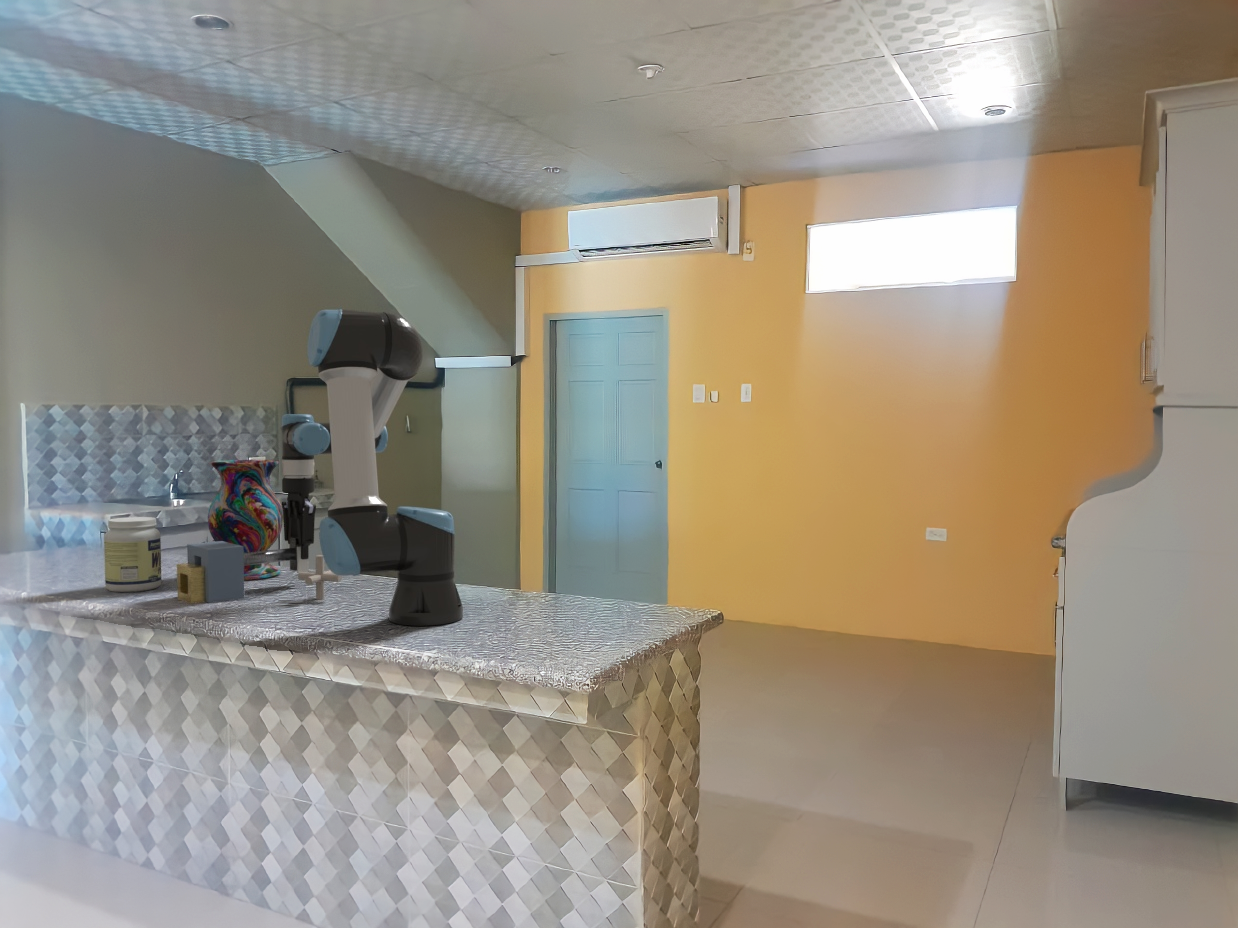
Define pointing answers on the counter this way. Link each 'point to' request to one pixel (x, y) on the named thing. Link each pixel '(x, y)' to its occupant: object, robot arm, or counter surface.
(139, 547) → the supplement tub
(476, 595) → the counter surface
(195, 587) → the block
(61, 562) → the counter surface
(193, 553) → the pillow block
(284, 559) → the shaft
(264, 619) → the counter surface
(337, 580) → the pipe connector
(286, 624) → the counter surface
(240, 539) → the vase
